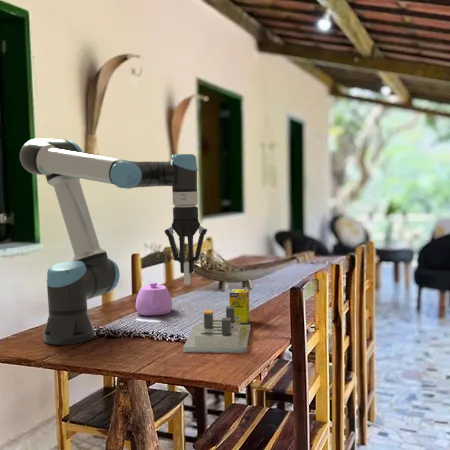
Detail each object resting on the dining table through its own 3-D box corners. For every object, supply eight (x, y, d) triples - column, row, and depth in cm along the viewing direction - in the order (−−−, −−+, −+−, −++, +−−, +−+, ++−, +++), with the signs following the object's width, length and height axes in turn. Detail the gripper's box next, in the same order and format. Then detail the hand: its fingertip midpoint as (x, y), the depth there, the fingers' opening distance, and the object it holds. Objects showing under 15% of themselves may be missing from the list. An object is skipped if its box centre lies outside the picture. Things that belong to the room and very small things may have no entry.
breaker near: (221, 333, 165) (221, 320, 165) (222, 330, 168) (222, 317, 168) (230, 334, 165) (229, 320, 165) (231, 331, 168) (230, 317, 168)
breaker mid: (204, 327, 173) (203, 312, 172) (205, 324, 176) (205, 310, 175) (212, 327, 173) (211, 312, 172) (213, 324, 176) (212, 310, 175)
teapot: (136, 321, 198) (135, 289, 197) (134, 307, 217) (133, 278, 216) (175, 318, 200) (174, 287, 199) (170, 305, 220) (169, 277, 219)
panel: (183, 352, 163) (183, 338, 163) (195, 328, 187) (195, 316, 187) (246, 353, 162) (246, 338, 161) (250, 329, 186) (250, 316, 185)
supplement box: (247, 325, 190) (246, 292, 189) (229, 324, 192) (228, 292, 190) (249, 320, 196) (249, 289, 195) (232, 319, 197) (232, 288, 196)
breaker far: (226, 321, 179) (226, 308, 179) (227, 318, 182) (226, 306, 182) (233, 321, 179) (233, 308, 179) (234, 318, 182) (234, 306, 182)
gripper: (161, 207, 168) (163, 286, 170) (205, 206, 167) (207, 286, 169) (166, 205, 176) (168, 281, 178) (208, 204, 174) (210, 281, 177)
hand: (187, 283), depth 174 cm, fingers closed
